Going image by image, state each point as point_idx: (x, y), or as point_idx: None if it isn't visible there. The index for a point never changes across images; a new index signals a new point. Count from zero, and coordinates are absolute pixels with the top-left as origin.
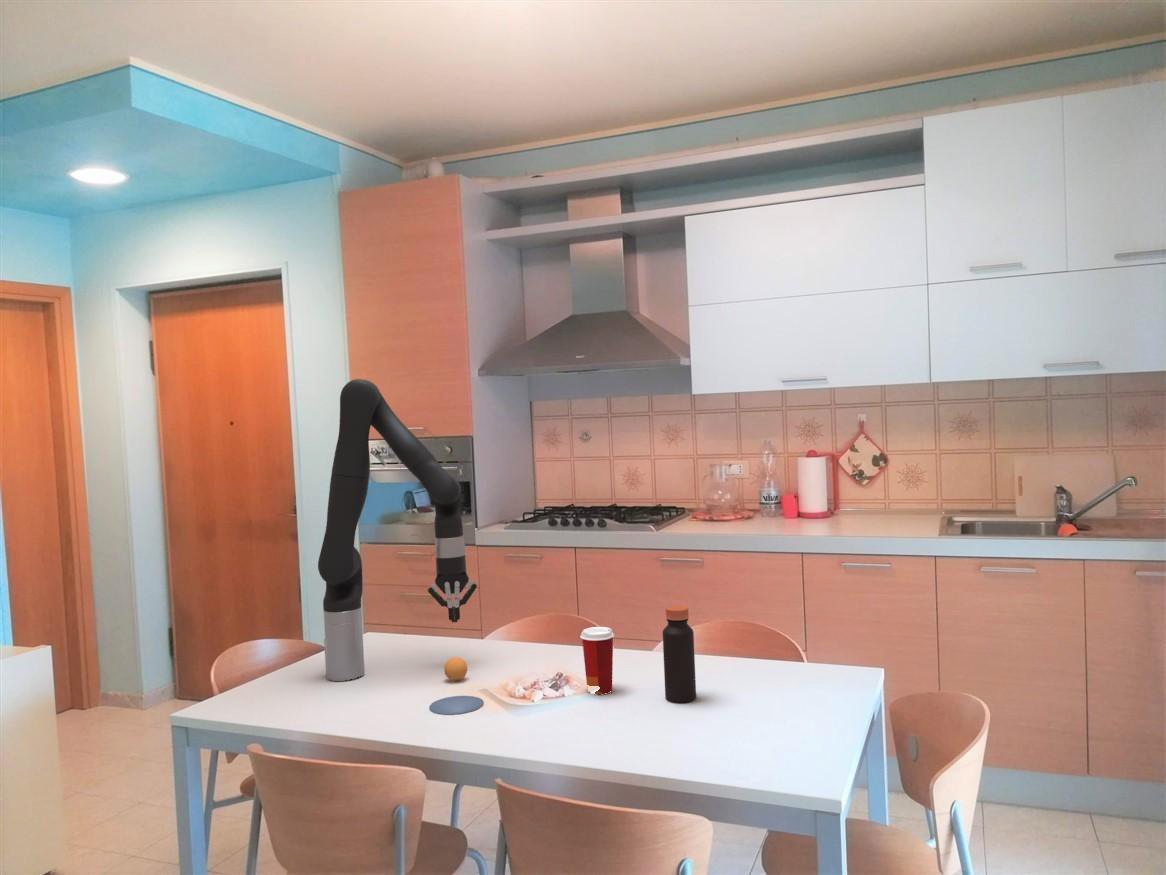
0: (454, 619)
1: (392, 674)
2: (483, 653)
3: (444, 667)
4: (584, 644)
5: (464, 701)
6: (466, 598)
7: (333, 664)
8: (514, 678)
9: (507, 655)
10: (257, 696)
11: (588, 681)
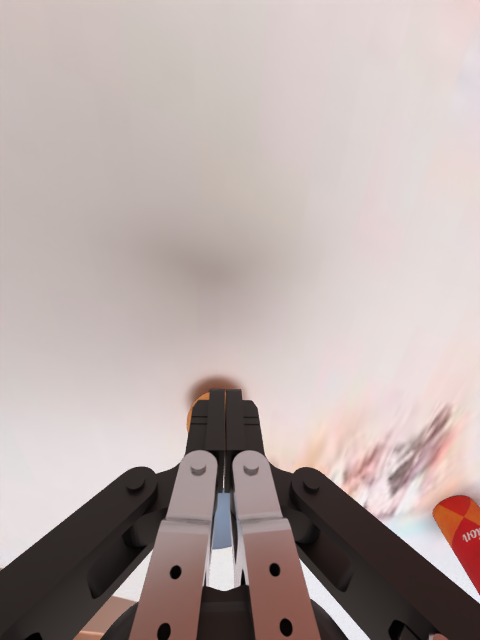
0: (224, 393)
1: (28, 305)
2: (328, 152)
3: (187, 430)
4: None
5: (228, 513)
6: (329, 562)
7: None
8: (345, 421)
9: (395, 216)
10: None
11: (446, 538)
